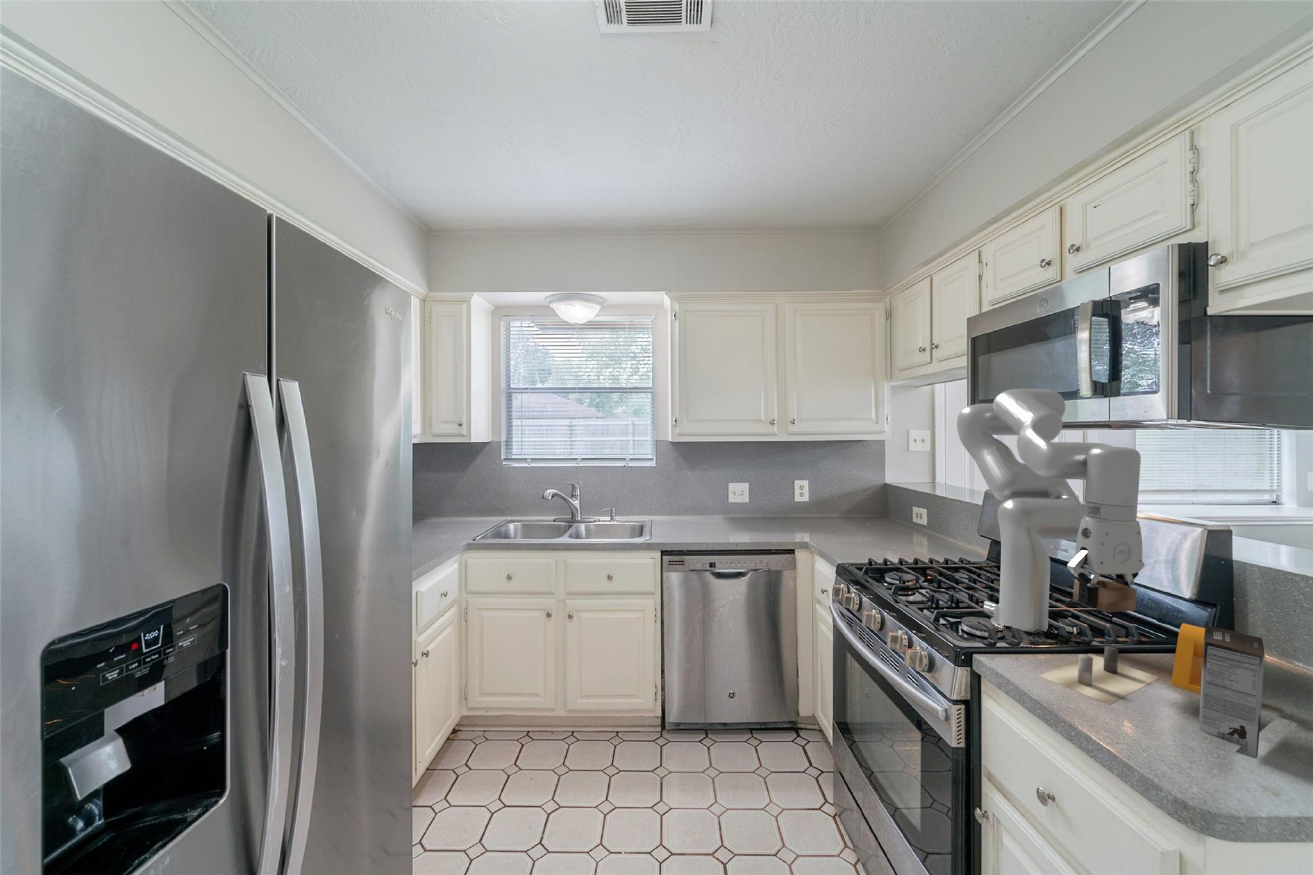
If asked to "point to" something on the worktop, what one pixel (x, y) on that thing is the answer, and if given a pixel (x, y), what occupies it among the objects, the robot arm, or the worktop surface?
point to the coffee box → (1232, 687)
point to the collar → (1111, 596)
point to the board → (1100, 676)
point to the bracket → (1189, 658)
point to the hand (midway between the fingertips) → (1103, 603)
